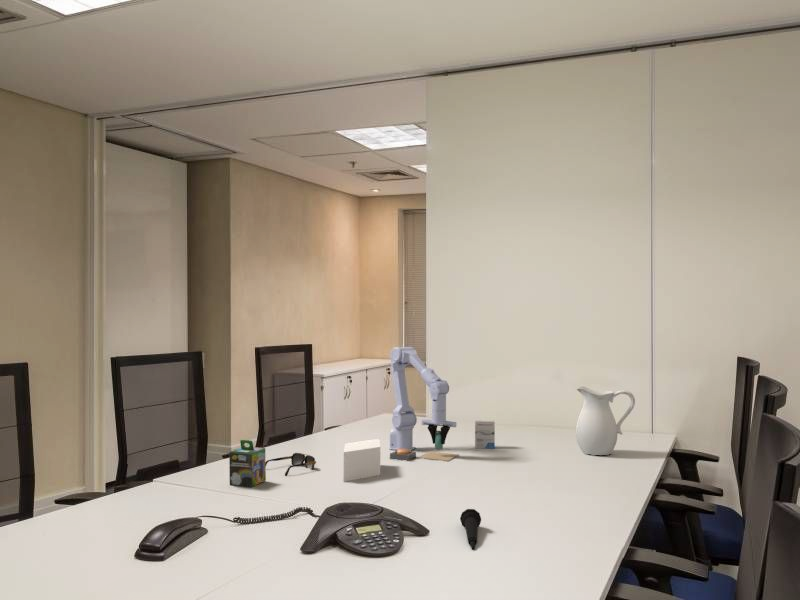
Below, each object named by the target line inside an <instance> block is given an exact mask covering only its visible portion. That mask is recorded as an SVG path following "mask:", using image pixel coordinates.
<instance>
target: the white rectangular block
mask: <svg viewBox="0 0 800 600" xmlns="http://www.w3.org/2000/svg"><path fill="white" fill-rule="evenodd" d="M376 475H377V476H380V475H381V441H380V438H374V439H368V440H360V441H354V442H346V443H345V442H344V449H343V479H342V481H343V482H348V481H354V480H360V478H361V479H365V478H371V476H372V477H376Z"/></svg>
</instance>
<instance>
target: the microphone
mask: <svg viewBox="0 0 800 600" xmlns="http://www.w3.org/2000/svg"><path fill="white" fill-rule="evenodd" d="M459 520H460V523H461V526H462V527H464V529H465V533H466V538H467V543H468V545H469V546H470V548H471V550H472V551H473V550H475V547H476V545H477V543H478V527H479V528H480V524H481V521H482V516H481V514H480V512H478V511H477V510H476V509H474V508H466V509H465V510H464V511H462V512H461V515H460V519H459Z"/></svg>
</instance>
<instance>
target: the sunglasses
mask: <svg viewBox="0 0 800 600" xmlns="http://www.w3.org/2000/svg"><path fill="white" fill-rule="evenodd" d="M289 459H291V465H290V466H288V468H287V469H286V471H285V473H284V476H285V477H288V474H289V473H290V469H291V468H298V467H305V468H306V469H309V470H311V471H312V470H314V469H315V465H316V464H317V461H316V458H315V457H314V456H313V455H311V454H305V453H300V452H294V453H292V455H290V456H283V457H277V458H271V459H267V460H265V463H266V466H267V465H268V463H269V462H275V461H283V460H284V461H285V460H289Z"/></svg>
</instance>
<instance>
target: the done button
mask: <svg viewBox="0 0 800 600" xmlns="http://www.w3.org/2000/svg"><path fill="white" fill-rule="evenodd" d="M396 451H397V454H405V455H407V454H409V449H397V450H396Z"/></svg>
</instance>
